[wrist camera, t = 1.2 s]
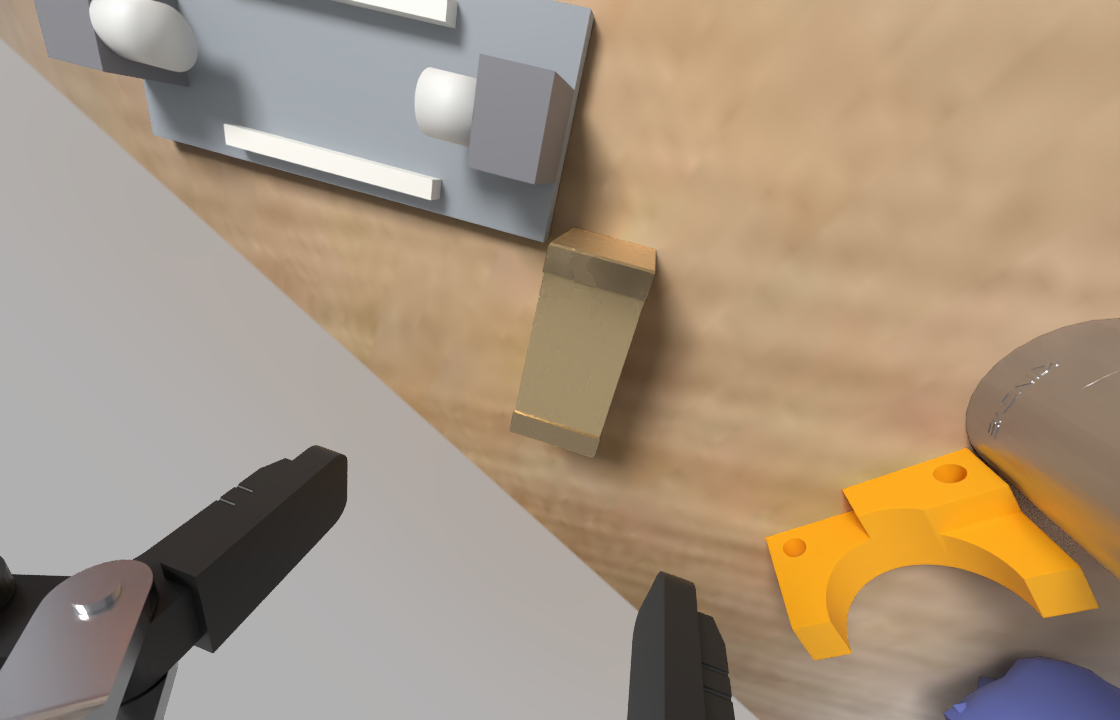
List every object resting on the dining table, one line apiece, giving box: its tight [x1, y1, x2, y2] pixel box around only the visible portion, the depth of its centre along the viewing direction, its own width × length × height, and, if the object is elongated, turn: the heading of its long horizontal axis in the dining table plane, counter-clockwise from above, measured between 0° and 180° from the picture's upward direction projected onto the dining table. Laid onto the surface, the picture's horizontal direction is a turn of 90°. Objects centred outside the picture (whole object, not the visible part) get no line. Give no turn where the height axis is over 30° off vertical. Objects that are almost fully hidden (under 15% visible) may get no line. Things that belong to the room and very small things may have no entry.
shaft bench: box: [34, 0, 594, 242], centre depth 20 cm, size 24×10×5 cm, turn 77°
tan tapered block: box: [509, 227, 656, 458], centre depth 22 cm, size 10×5×6 cm, turn 167°
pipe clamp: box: [766, 448, 1099, 660], centre depth 23 cm, size 12×4×6 cm, turn 126°
